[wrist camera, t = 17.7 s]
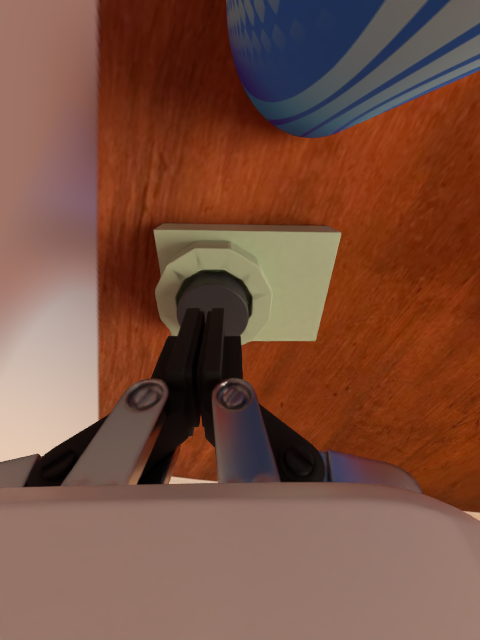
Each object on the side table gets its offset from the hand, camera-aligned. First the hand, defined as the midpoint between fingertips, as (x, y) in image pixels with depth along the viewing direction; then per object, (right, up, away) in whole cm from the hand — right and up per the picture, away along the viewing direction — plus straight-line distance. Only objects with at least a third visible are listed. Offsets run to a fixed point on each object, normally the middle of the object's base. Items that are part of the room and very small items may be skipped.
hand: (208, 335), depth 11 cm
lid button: (0, +2, +3) cm, 4 cm away
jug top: (+2, +4, +7) cm, 8 cm away
